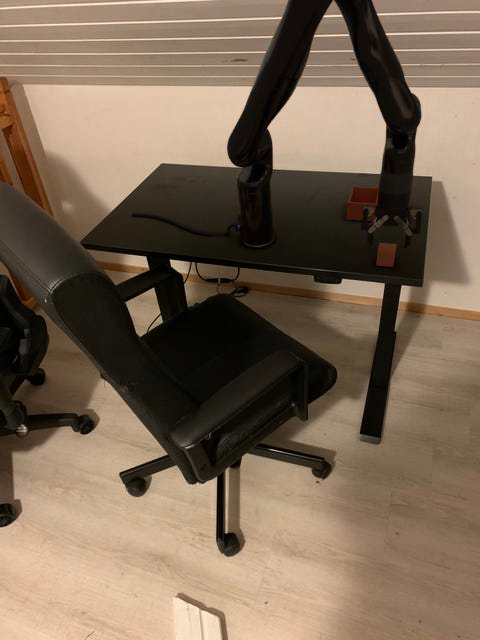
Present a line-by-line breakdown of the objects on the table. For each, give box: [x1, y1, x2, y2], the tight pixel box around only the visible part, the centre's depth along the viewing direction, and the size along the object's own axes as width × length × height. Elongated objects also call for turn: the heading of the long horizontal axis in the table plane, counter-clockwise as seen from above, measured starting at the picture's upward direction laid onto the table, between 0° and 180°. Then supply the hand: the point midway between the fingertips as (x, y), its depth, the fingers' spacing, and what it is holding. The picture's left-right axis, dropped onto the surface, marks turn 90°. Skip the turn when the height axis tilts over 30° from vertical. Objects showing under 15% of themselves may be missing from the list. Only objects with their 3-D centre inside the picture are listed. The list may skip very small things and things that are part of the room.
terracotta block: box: [375, 242, 397, 268], centre depth 123 cm, size 4×4×4 cm
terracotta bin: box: [345, 185, 379, 222], centre depth 143 cm, size 9×11×6 cm
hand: (388, 245), depth 120 cm, fingers open, 8 cm apart
